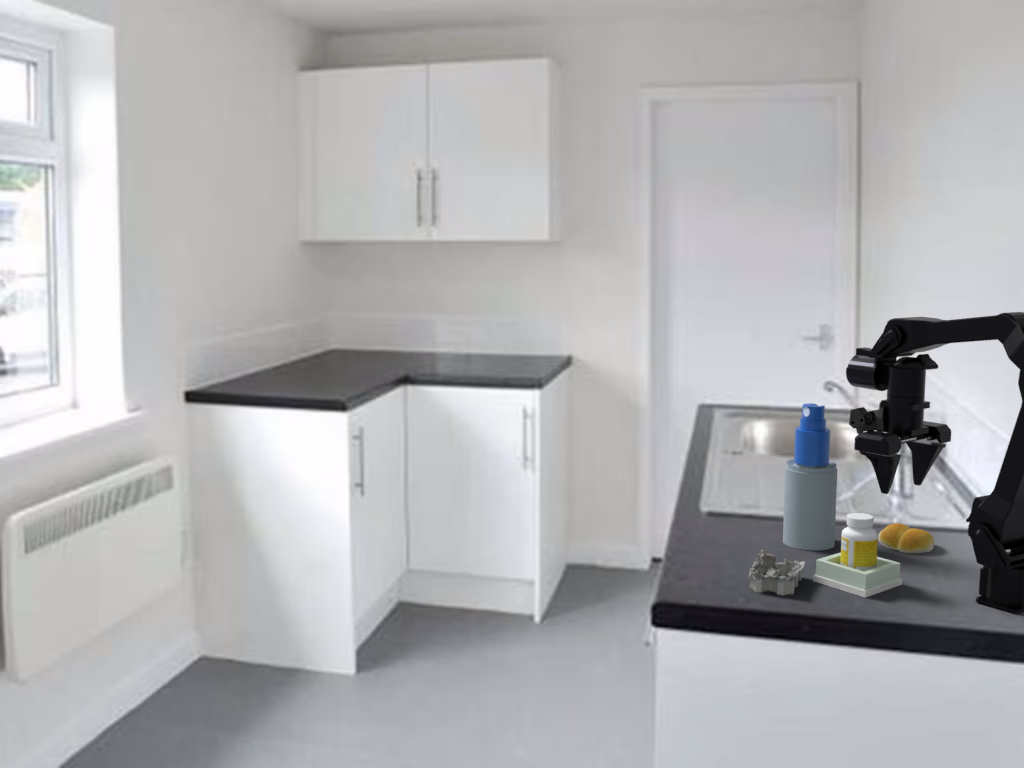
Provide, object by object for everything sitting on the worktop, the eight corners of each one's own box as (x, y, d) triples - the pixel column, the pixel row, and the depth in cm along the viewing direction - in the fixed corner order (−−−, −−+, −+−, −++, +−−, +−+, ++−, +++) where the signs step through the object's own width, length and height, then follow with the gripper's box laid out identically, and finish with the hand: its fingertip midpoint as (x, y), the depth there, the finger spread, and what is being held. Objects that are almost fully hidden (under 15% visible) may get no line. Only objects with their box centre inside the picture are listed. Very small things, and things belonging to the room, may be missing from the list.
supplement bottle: (882, 576, 160) (885, 516, 159) (865, 584, 157) (867, 522, 156) (851, 568, 164) (853, 509, 163) (833, 576, 161) (835, 515, 159)
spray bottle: (807, 553, 176) (812, 410, 172) (772, 540, 184) (776, 402, 180) (845, 545, 180) (851, 405, 176) (809, 533, 188) (814, 398, 184)
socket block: (901, 584, 160) (902, 563, 159) (865, 597, 154) (866, 575, 154) (849, 569, 167) (850, 548, 167) (813, 581, 162) (813, 559, 161)
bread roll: (920, 558, 173) (921, 535, 173) (871, 546, 180) (872, 524, 180) (943, 548, 179) (944, 526, 178) (895, 537, 186) (896, 516, 185)
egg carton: (760, 572, 167) (761, 547, 167) (807, 578, 164) (808, 554, 163) (743, 591, 158) (743, 566, 157) (792, 599, 154) (792, 573, 154)
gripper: (894, 384, 177) (890, 472, 179) (827, 394, 166) (824, 488, 168) (955, 391, 168) (950, 484, 170) (888, 403, 157) (884, 502, 159)
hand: (901, 489), depth 167 cm, fingers open, 9 cm apart
